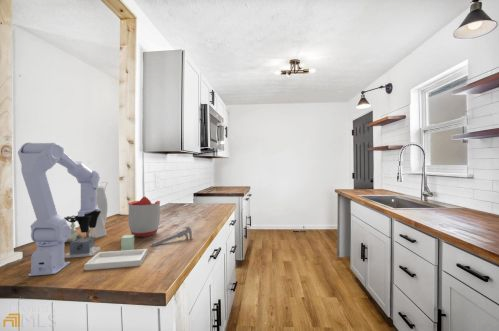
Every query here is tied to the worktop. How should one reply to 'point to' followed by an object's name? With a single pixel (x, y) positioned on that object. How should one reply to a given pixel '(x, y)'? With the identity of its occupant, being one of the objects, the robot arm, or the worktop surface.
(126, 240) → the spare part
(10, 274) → the worktop surface
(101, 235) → the twisted vase
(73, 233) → the valve
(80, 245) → the mounted unit
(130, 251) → the parts tray
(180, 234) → the caliper
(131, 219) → the citrus juicer
